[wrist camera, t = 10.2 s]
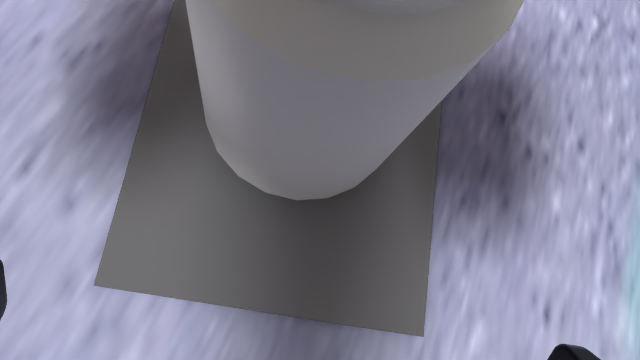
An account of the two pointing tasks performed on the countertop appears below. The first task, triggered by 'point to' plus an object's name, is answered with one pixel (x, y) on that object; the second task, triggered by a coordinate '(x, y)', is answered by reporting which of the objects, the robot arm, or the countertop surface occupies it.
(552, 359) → the robot arm
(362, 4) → the can
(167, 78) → the seat pad
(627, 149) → the countertop surface
